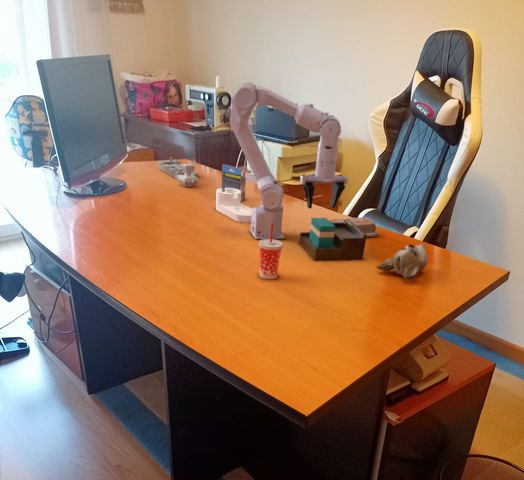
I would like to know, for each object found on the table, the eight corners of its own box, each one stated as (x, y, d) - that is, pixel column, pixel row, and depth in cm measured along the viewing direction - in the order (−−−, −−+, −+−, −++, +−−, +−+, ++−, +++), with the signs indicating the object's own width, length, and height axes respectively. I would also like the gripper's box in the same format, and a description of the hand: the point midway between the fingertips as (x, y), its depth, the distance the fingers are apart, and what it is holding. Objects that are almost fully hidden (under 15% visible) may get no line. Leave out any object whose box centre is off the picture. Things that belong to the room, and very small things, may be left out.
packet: (317, 248, 151) (320, 226, 147) (308, 238, 157) (311, 217, 154) (332, 247, 152) (335, 226, 149) (322, 238, 159) (325, 217, 155)
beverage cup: (272, 282, 133) (276, 229, 126) (252, 276, 136) (255, 223, 129) (283, 275, 138) (289, 223, 131) (264, 269, 140) (268, 218, 133)
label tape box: (245, 199, 200) (247, 166, 193) (239, 201, 197) (241, 168, 190) (226, 195, 203) (228, 162, 197) (220, 197, 200) (221, 164, 194)
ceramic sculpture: (441, 243, 142) (412, 258, 133) (435, 273, 147) (406, 288, 138) (408, 233, 148) (377, 246, 139) (403, 261, 153) (373, 276, 144)
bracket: (211, 207, 188) (212, 188, 184) (232, 205, 192) (233, 186, 189) (240, 223, 174) (241, 203, 170) (262, 220, 178) (263, 201, 175)
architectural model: (178, 180, 219) (178, 167, 217) (153, 167, 236) (152, 155, 234) (202, 178, 225) (203, 165, 223) (176, 165, 242) (176, 154, 240)
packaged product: (363, 213, 177) (381, 222, 170) (361, 227, 180) (378, 237, 172) (319, 217, 170) (335, 226, 162) (317, 231, 172) (333, 241, 165)
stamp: (200, 187, 211) (200, 166, 206) (186, 189, 207) (186, 167, 203) (189, 182, 217) (189, 161, 212) (175, 183, 213) (175, 162, 209)
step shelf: (314, 260, 149) (318, 235, 145) (299, 243, 161) (301, 219, 157) (362, 259, 153) (366, 234, 149) (343, 242, 165) (347, 219, 161)
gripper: (307, 164, 147) (302, 211, 154) (354, 164, 151) (347, 210, 158) (299, 158, 153) (295, 204, 160) (345, 159, 157) (339, 204, 164)
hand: (320, 207), depth 160 cm, fingers open, 7 cm apart
